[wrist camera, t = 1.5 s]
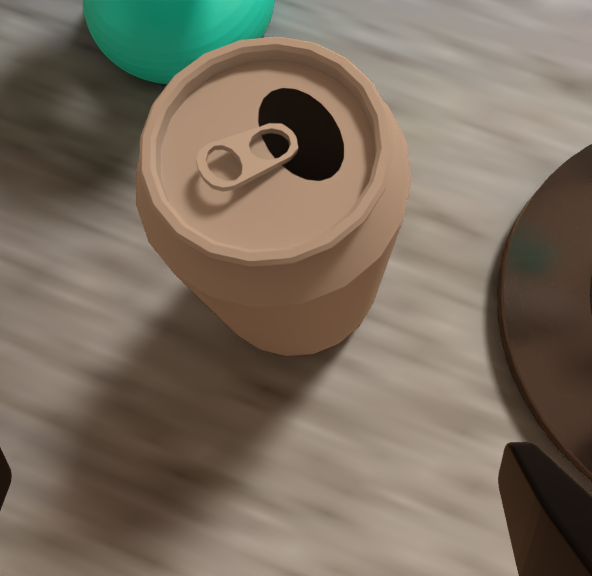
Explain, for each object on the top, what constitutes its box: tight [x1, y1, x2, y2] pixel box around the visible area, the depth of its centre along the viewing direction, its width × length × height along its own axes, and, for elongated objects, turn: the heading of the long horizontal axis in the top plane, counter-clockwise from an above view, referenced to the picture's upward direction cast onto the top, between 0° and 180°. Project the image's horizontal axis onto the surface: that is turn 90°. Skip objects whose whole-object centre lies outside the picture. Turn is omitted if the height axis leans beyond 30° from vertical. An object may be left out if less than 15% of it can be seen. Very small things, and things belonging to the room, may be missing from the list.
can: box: [136, 36, 412, 356], centre depth 18 cm, size 8×8×12 cm
